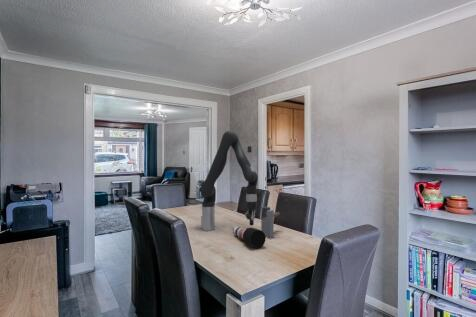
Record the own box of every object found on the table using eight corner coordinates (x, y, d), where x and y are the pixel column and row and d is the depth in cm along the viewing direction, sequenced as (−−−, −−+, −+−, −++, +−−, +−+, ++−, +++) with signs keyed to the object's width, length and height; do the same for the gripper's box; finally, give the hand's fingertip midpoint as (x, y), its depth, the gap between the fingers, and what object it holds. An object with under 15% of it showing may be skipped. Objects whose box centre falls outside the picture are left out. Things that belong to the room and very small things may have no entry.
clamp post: (261, 236, 174) (261, 209, 174) (264, 235, 177) (264, 208, 177) (270, 238, 170) (270, 211, 169) (273, 237, 173) (273, 210, 172)
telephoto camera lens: (237, 239, 182) (242, 225, 185) (262, 250, 152) (267, 233, 154) (225, 234, 179) (230, 220, 182) (248, 244, 148) (254, 227, 151)
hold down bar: (261, 218, 174) (261, 207, 174) (275, 214, 187) (275, 203, 187) (266, 219, 172) (266, 208, 172) (279, 214, 185) (279, 204, 185)
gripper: (252, 198, 187) (253, 222, 187) (241, 201, 177) (241, 226, 177) (261, 199, 182) (261, 224, 183) (249, 202, 172) (250, 228, 173)
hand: (251, 225), depth 180 cm, fingers closed
